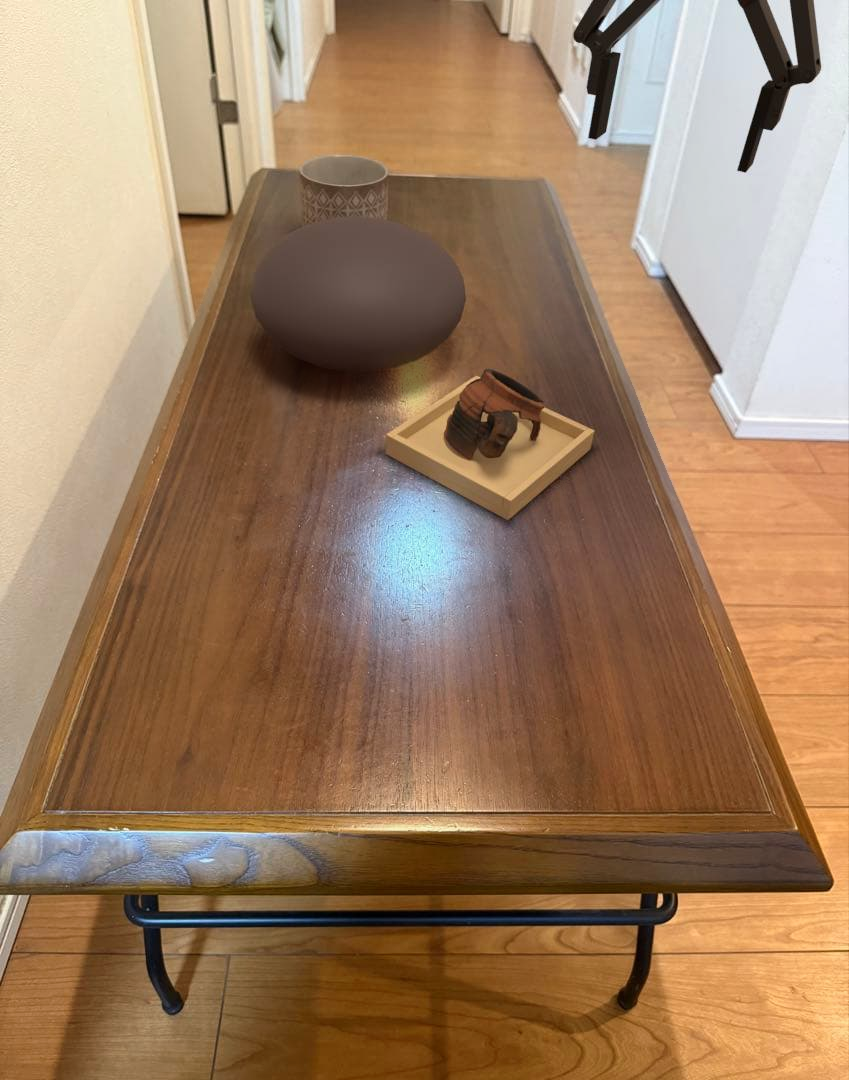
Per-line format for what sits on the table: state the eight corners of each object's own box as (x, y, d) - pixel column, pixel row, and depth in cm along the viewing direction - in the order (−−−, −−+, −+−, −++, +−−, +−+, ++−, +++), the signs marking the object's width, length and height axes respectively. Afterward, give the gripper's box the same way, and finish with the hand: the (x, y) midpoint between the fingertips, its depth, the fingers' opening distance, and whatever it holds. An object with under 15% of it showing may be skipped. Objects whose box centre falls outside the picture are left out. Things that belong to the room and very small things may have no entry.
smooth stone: (236, 316, 107) (223, 198, 97) (419, 292, 114) (424, 180, 104) (284, 422, 90) (274, 293, 80) (493, 386, 97) (508, 264, 87)
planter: (285, 235, 125) (281, 164, 118) (353, 217, 132) (353, 148, 125) (335, 266, 118) (333, 192, 111) (404, 245, 125) (406, 174, 118)
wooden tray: (590, 449, 89) (594, 430, 88) (507, 520, 80) (510, 500, 78) (474, 394, 96) (476, 375, 94) (385, 453, 87) (385, 434, 85)
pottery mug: (432, 420, 91) (470, 353, 88) (505, 455, 94) (544, 392, 91) (446, 462, 80) (489, 388, 77) (528, 501, 83) (573, 431, 80)
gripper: (933, -145, 58) (819, 169, 73) (597, -175, 66) (555, 113, 81) (923, -141, 53) (804, 195, 68) (562, -174, 61) (524, 132, 76)
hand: (668, 151), depth 74 cm, fingers open, 13 cm apart
